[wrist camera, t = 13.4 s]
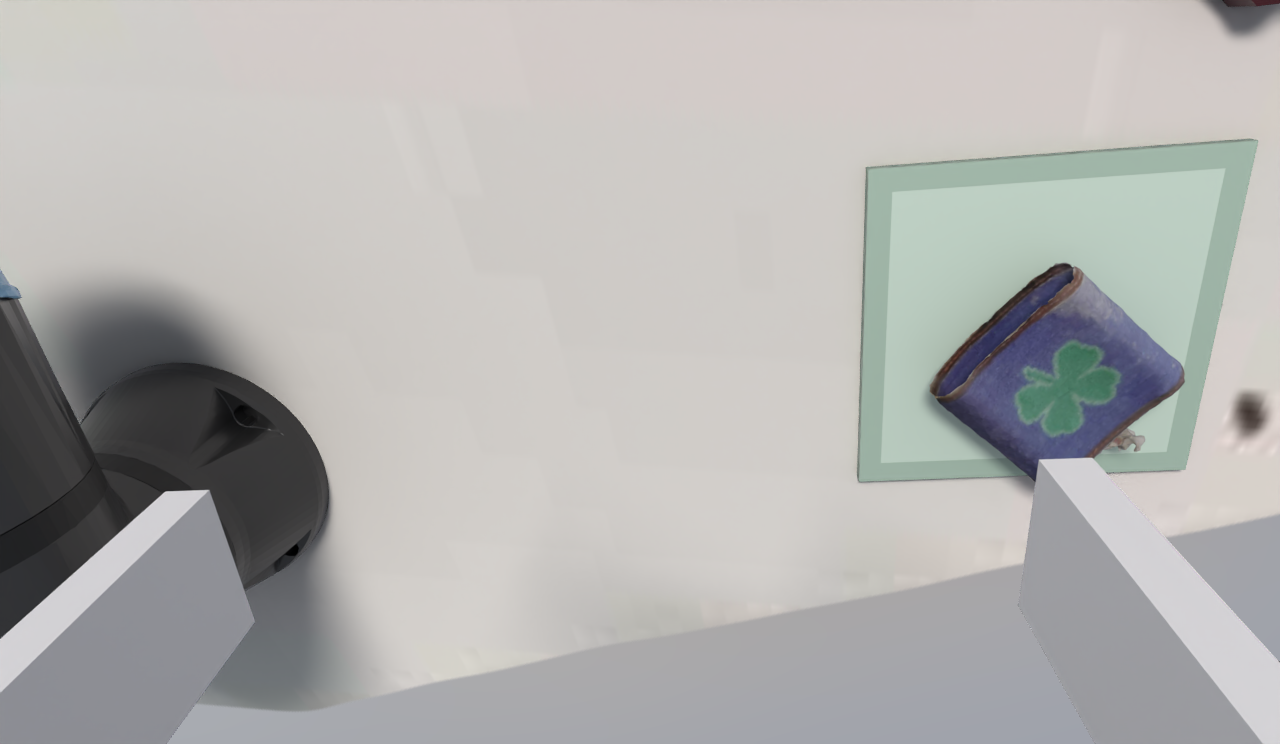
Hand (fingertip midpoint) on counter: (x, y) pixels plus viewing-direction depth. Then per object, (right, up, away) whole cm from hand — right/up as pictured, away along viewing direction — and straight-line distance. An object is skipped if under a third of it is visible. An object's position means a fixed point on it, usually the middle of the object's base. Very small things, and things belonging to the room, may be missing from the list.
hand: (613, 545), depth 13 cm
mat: (+21, +5, +29) cm, 37 cm away
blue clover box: (+19, +5, +30) cm, 36 cm away
